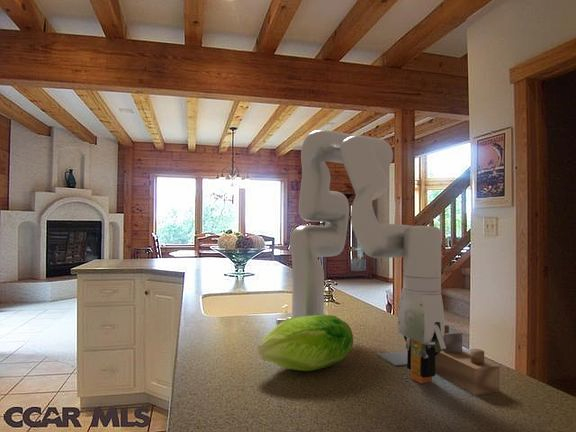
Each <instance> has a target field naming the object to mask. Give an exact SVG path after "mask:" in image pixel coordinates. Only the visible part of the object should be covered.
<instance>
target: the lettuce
mask: <svg viewBox="0 0 576 432" xmlns="http://www.w3.org/2000/svg"><path fill="white" fill-rule="evenodd" d="M353 347H354V334H353V332H352V329H351V327H350V325H349V324H348V323H347V322H346V321H344V320H343V319H340V318H339V317H337V316H335V315H331V314H330V315H328V314H324V315H322V314H316V315H310V316H301V317H294V318H290V319H288V320H286V321H284V322H282V323H280V324H279V325H276V326H274V327H273V328H272V329H271V330H270V332H269V333H267V335H266V336H265V337H264V338H262V339H261V340H260V341H259V343H258V347H257V352H258V353H257V354H258V356H259V357H260V359H261V360H262V361H265V362H270V363H273V364H276V365H277V366H279V367H281V368H284V369H287V370H295V371H303V372H305V371H306V372H312V371H315V370H316V371H317V370H320V369H325V368H328V367H330V366H331V367H332V366H333V365H335V364H337V363H340V362H341V361H343V360H344V359H345V358H346V356H347V355H348V354H349V353H350V352H351V351H352V348H353Z"/></svg>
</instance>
